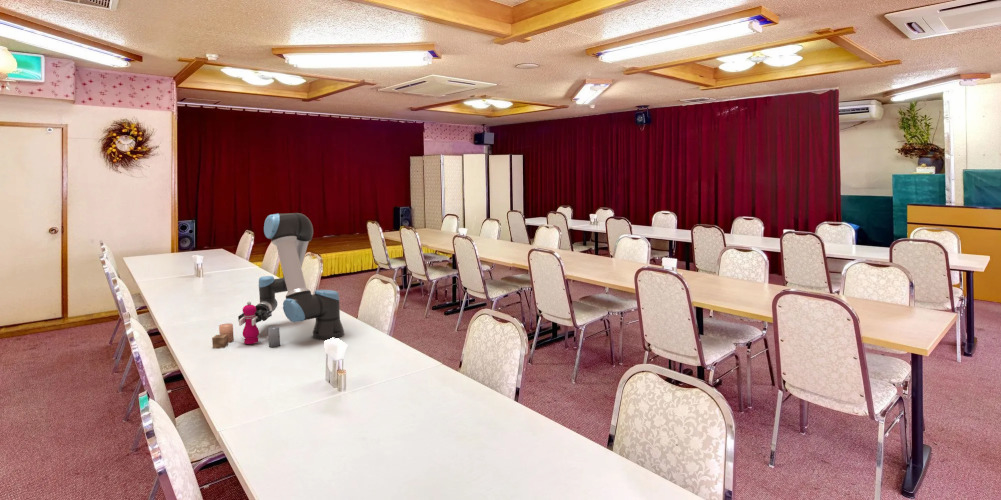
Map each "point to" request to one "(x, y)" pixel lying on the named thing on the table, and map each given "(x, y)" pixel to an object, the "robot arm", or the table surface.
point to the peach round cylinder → (227, 331)
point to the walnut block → (220, 341)
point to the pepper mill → (250, 325)
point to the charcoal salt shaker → (274, 336)
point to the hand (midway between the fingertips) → (246, 322)
